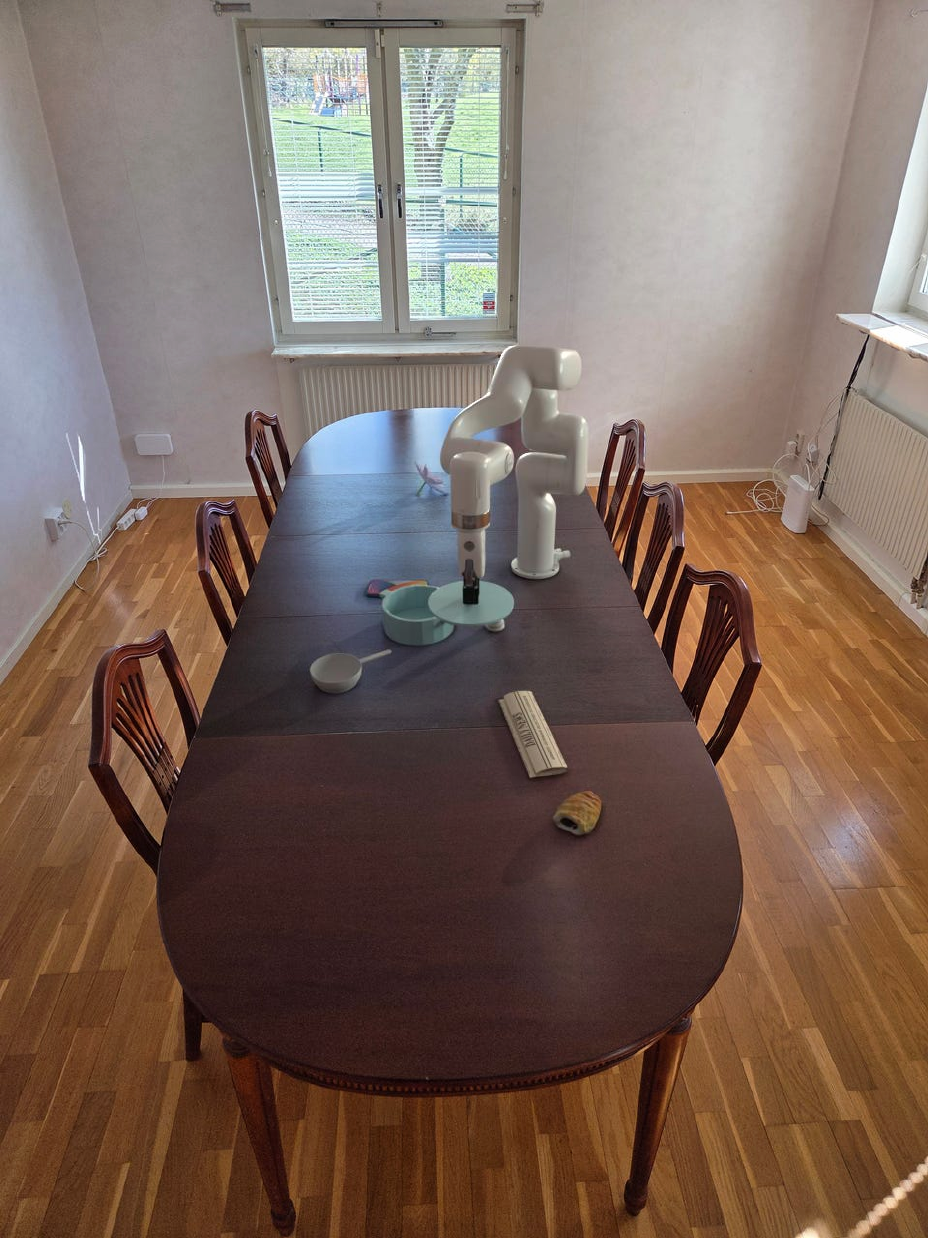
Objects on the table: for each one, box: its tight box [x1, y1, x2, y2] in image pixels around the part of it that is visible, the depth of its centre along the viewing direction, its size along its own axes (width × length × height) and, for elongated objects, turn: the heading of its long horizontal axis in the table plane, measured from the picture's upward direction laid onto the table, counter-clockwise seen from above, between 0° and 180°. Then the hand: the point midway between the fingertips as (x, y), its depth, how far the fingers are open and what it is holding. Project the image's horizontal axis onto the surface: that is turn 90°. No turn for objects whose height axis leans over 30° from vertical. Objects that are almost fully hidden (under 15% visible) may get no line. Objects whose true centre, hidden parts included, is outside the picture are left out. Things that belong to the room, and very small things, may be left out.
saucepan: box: [309, 648, 392, 694], centre depth 175 cm, size 11×18×4 cm, turn 118°
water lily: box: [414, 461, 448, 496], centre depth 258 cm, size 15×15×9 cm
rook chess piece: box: [485, 619, 505, 633], centre depth 189 cm, size 4×4×8 cm
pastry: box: [552, 790, 602, 836], centre depth 139 cm, size 9×7×4 cm
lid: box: [428, 578, 515, 627], centre depth 166 cm, size 18×18×6 cm
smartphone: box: [366, 579, 429, 598], centre depth 207 cm, size 7×15×1 cm, turn 85°
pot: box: [379, 584, 455, 646], centre depth 191 cm, size 17×22×6 cm
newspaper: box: [497, 690, 568, 779], centre depth 158 cm, size 24×7×2 cm, turn 12°
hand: (471, 598), depth 167 cm, fingers closed on lid, 2 cm apart
